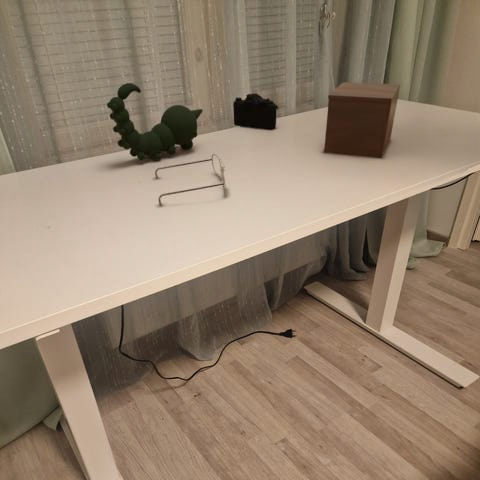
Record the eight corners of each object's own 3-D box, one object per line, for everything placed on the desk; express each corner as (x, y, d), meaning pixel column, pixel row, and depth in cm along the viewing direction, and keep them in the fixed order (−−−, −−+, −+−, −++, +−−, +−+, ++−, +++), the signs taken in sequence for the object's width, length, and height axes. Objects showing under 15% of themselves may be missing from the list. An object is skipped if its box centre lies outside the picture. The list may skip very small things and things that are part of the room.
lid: (391, 102, 97) (391, 98, 96) (328, 98, 102) (328, 94, 101) (399, 88, 109) (400, 84, 108) (342, 85, 113) (343, 82, 113)
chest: (381, 158, 106) (391, 101, 98) (323, 152, 110) (328, 98, 102) (390, 140, 117) (399, 88, 109) (337, 136, 121) (342, 85, 113)
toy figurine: (136, 176, 105) (217, 145, 115) (114, 92, 92) (206, 66, 103) (119, 167, 111) (197, 138, 121) (95, 86, 98) (185, 62, 109)
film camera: (286, 123, 134) (287, 91, 128) (272, 131, 127) (273, 97, 122) (244, 118, 140) (244, 87, 134) (229, 125, 133) (228, 93, 128)
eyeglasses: (231, 198, 89) (230, 174, 86) (159, 206, 87) (155, 181, 83) (218, 172, 101) (217, 150, 98) (155, 178, 99) (152, 156, 96)
